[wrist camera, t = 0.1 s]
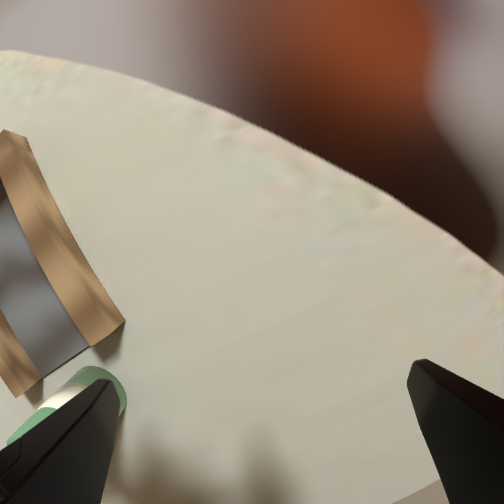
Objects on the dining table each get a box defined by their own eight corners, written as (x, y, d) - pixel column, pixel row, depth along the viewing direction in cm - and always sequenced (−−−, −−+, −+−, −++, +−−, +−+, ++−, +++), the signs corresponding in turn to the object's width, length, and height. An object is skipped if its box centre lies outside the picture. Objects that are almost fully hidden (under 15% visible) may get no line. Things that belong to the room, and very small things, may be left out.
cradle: (125, 320, 24) (108, 334, 20) (33, 383, 24) (15, 398, 21) (26, 137, 22) (3, 129, 18) (-47, 226, 22) (-68, 228, 19)
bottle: (112, 426, 25) (37, 554, 8) (66, 391, 24) (-35, 497, 7) (137, 392, 24) (53, 538, 8) (86, 353, 24) (-35, 466, 7)
